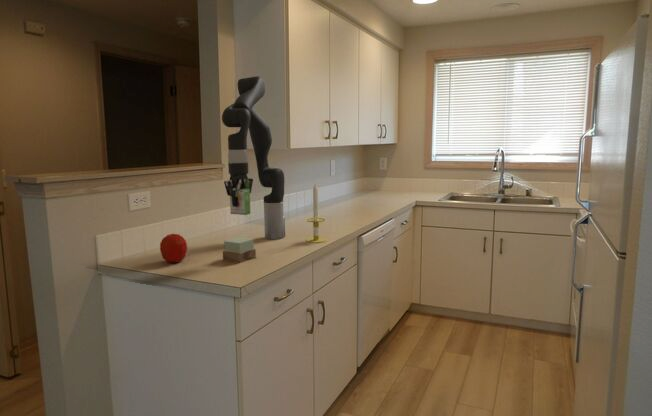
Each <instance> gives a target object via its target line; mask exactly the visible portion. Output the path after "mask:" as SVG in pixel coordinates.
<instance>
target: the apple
mask: <svg viewBox="0 0 652 416" xmlns="http://www.w3.org/2000/svg"><path fill="white" fill-rule="evenodd" d="M159 245H160V246H159V251H160V253H161V256H162V259H163V260H164V261H166V262H168V263H170V264H172V263H180V262H182V261H183V260H184V259H185V258H186V256H187V252H188V244H187V240H186V239H185V237H183V236H182V235H180V234H177V233H171V234H167V235H166V236H164V237H163V238H162V239H161V241H160V244H159Z"/></svg>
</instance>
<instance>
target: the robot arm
mask: <svg viewBox="0 0 652 416" xmlns="http://www.w3.org/2000/svg"><path fill="white" fill-rule="evenodd" d="M265 86H266V85H265V82H264V79H263V78H262V77H260V76H251V77H243V78H240V79H238V80H237V90H238V91H237V92H238V95H239V96H238V97H237V98H236V99H235V101H234V103H231V104H230V105H228V106H227V107H225V108H224V110H223V112H222V114H221V121H222V123H223V125H224V126H225V127H227V128H239V131H238V132H235V133H232V134H231V133H230V134H228V137H227V147H228V148H227V149H228V153H227V163H228V164H227V166H228V167H227V169H228V174H229V175H230V176H229V179H228V180H224V181H223V183H224V187H225V191H226V195H227V196H228V197H230V196H231V197H232V205H233V207H238V197H237V196H238V191H239V190H240V188H244V189H246V180H249V189H250V194H251V193H252V189H253V183H254V179H253V178H250V177H248V174H249V155H248V143H247V142H248V134H249V135H250V139H251V143H252V147H253V150H254V151H253V152H254V156H255V161H256V168H257V176H258V181H259V184H260V185H261V186H262V187H263V188H270V189H271V191H270V193H268V194H266V195H263V222H264V227H263V228H264V238H265V240H266V239H267V240H279V239H284V238H285V237H286V218H285V215H284V197H285V173H284V171H283V169H281V168H275V167H270V166H269V165H270V164H269V159H268V158H269V157H268V156H269V152H270V149H271V147H272V144H273V137H272V133H271V128H270V126H269V124H268V122H266V120H265V119H264V118H263V117H262V116H261V115H260V114H259V113H258V112H257V111H256V109H255V107H254V105H256V104H257V103H258V102H259V101H260V100H261V99H263V97H264V96H265V93H266V87H265ZM234 188H236V189H234ZM234 191H235V193H234Z"/></svg>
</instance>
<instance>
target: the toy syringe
mask: <svg viewBox="0 0 652 416" xmlns="http://www.w3.org/2000/svg"><path fill="white" fill-rule="evenodd" d="M318 190H319V189H318V187H317V183H314V186H313V187H312V197H313V198H312V201H313V202H312V203H313V204H312V205H313V207H312V209H313V217H312V218H311V217H310V218H307V219H306V222H309V223H312V225H313V226H312V227H313V228H312V229H313V231H312V232H313V237H309V238H306V239H305V242H306V243H309V244H320V243H321V244H322V243H326V242H327V241H328V240H327V238H325V237H320V229H319V228H320V226H319V225H320V224H319V223H322V222H325V221H326V219H325V218H322V217H321V218H320V217H319V198H318V197H319V191H318Z"/></svg>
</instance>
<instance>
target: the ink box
mask: <svg viewBox="0 0 652 416" xmlns="http://www.w3.org/2000/svg"><path fill="white" fill-rule="evenodd" d="M234 189H236V188H234ZM234 193H235V191H234ZM250 196H251V193H250V189H249V180H246V189H244V188H240V190H239V191H238V196H237V197H238V207H233V205H232V197H231V196H229V206H230V207H229V208H230V215H240V216H241V215H243V216H247V215H251V197H250Z"/></svg>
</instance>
